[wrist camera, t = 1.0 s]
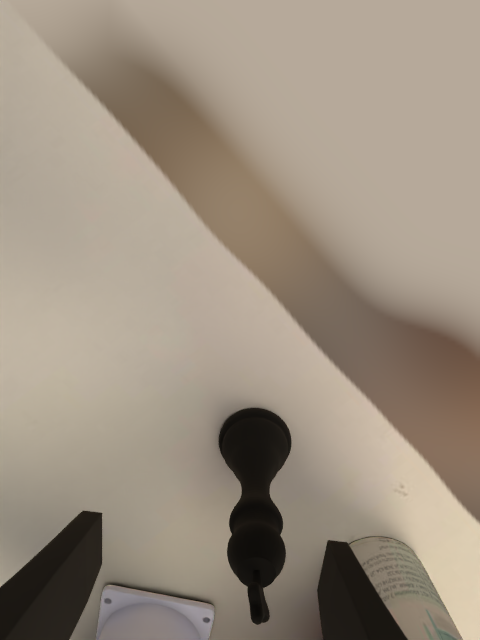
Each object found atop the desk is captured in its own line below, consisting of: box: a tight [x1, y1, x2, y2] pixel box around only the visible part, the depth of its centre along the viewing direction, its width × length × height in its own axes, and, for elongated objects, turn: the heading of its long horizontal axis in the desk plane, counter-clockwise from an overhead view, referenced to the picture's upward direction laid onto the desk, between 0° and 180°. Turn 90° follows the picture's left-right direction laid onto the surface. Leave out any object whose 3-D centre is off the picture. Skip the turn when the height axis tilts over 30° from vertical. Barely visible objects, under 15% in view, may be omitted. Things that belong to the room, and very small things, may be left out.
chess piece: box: [219, 408, 291, 625], centre depth 15 cm, size 4×4×10 cm
